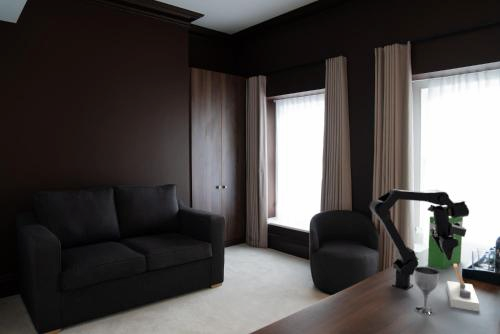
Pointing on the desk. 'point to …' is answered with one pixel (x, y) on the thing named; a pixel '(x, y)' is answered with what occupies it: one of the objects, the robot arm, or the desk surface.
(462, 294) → the push button
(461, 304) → the switch panel
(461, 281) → the paddle lever
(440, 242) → the robot arm
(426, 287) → the wine glass
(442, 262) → the cereal box
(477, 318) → the desk surface
